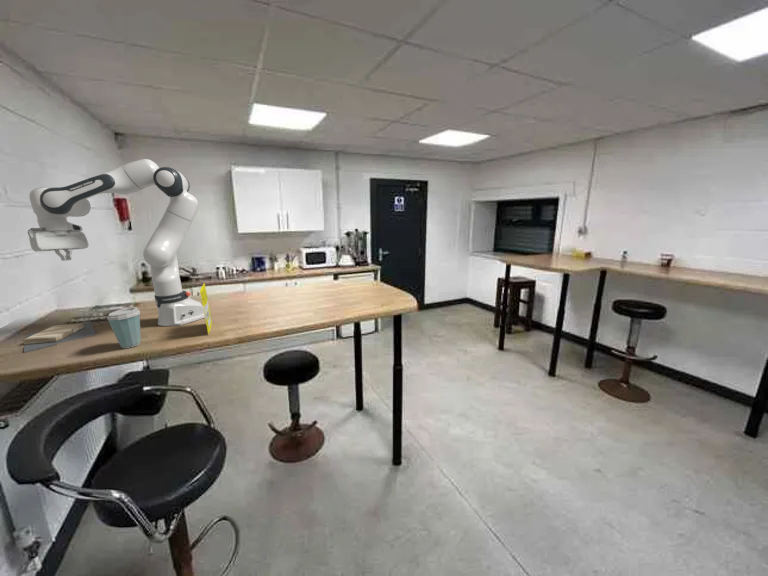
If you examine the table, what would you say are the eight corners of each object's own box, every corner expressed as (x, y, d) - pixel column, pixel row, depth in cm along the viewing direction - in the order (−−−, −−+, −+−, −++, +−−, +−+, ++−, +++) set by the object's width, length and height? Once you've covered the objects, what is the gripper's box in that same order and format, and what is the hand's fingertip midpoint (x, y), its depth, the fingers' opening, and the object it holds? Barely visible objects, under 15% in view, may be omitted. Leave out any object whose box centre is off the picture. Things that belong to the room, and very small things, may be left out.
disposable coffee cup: (110, 352, 126) (99, 316, 122) (121, 341, 136) (112, 308, 132) (142, 348, 129) (133, 312, 125) (151, 337, 139) (143, 304, 135)
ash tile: (53, 325, 149) (22, 339, 134) (82, 323, 151) (55, 337, 136) (55, 330, 150) (24, 344, 135) (84, 327, 152) (57, 342, 137)
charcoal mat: (90, 321, 161) (90, 320, 161) (96, 335, 144) (96, 334, 143) (26, 335, 146) (26, 334, 146) (24, 352, 129) (23, 351, 128)
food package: (210, 323, 154) (203, 282, 148) (213, 323, 154) (206, 282, 149) (207, 335, 140) (198, 290, 135) (209, 334, 140) (201, 290, 135)
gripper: (32, 226, 126) (46, 260, 128) (85, 226, 146) (96, 256, 148) (19, 229, 126) (32, 264, 128) (73, 229, 146) (84, 259, 148)
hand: (67, 260), depth 138 cm, fingers closed
